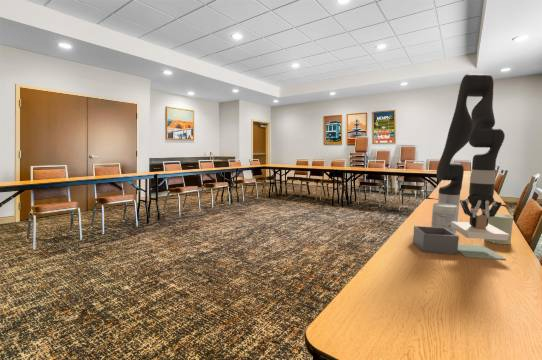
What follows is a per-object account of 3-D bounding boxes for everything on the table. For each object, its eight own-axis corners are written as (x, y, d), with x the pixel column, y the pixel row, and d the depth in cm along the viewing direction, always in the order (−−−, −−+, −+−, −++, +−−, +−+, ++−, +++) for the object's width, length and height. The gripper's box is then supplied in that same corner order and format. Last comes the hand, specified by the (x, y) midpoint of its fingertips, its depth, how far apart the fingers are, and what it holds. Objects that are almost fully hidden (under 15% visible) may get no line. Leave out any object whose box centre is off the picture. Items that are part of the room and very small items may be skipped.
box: (412, 242, 120) (414, 226, 119) (443, 244, 118) (445, 227, 117) (422, 251, 108) (423, 234, 107) (457, 254, 106) (458, 236, 105)
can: (511, 246, 117) (514, 217, 115) (483, 241, 122) (486, 214, 121) (510, 240, 124) (513, 214, 123) (483, 236, 129) (486, 211, 128)
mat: (449, 244, 117) (449, 243, 117) (484, 247, 115) (484, 246, 115) (465, 256, 104) (465, 255, 104) (505, 259, 101) (505, 258, 101)
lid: (450, 226, 116) (452, 209, 115) (487, 228, 114) (489, 211, 113) (466, 237, 103) (469, 218, 102) (508, 240, 101) (511, 220, 100)
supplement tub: (435, 232, 135) (437, 202, 134) (458, 237, 128) (461, 205, 127) (427, 235, 129) (429, 204, 128) (450, 241, 122) (453, 207, 121)
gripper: (497, 181, 109) (493, 225, 111) (457, 180, 111) (453, 223, 113) (509, 183, 102) (505, 230, 103) (466, 182, 104) (462, 228, 106)
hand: (478, 226), depth 108 cm, fingers closed on lid, 3 cm apart
